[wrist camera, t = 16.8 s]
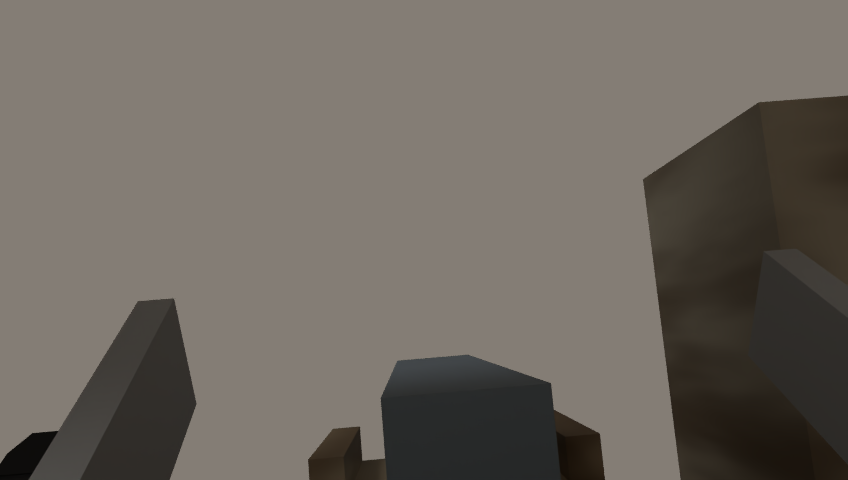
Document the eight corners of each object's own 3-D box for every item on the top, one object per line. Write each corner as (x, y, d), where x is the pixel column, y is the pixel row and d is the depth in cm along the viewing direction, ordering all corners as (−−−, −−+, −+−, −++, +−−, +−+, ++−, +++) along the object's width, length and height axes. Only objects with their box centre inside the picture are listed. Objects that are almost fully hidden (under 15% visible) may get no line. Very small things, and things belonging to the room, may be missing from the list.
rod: (394, 577, 16) (381, 397, 17) (403, 433, 40) (397, 360, 40) (569, 561, 16) (550, 383, 17) (474, 426, 40) (467, 354, 41)
